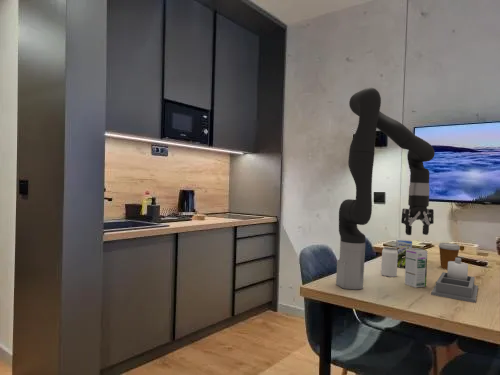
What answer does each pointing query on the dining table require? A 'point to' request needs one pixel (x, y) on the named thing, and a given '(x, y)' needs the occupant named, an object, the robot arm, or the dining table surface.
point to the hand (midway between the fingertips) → (416, 234)
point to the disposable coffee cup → (448, 253)
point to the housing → (456, 283)
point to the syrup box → (416, 267)
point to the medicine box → (403, 244)
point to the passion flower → (400, 255)
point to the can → (389, 262)
